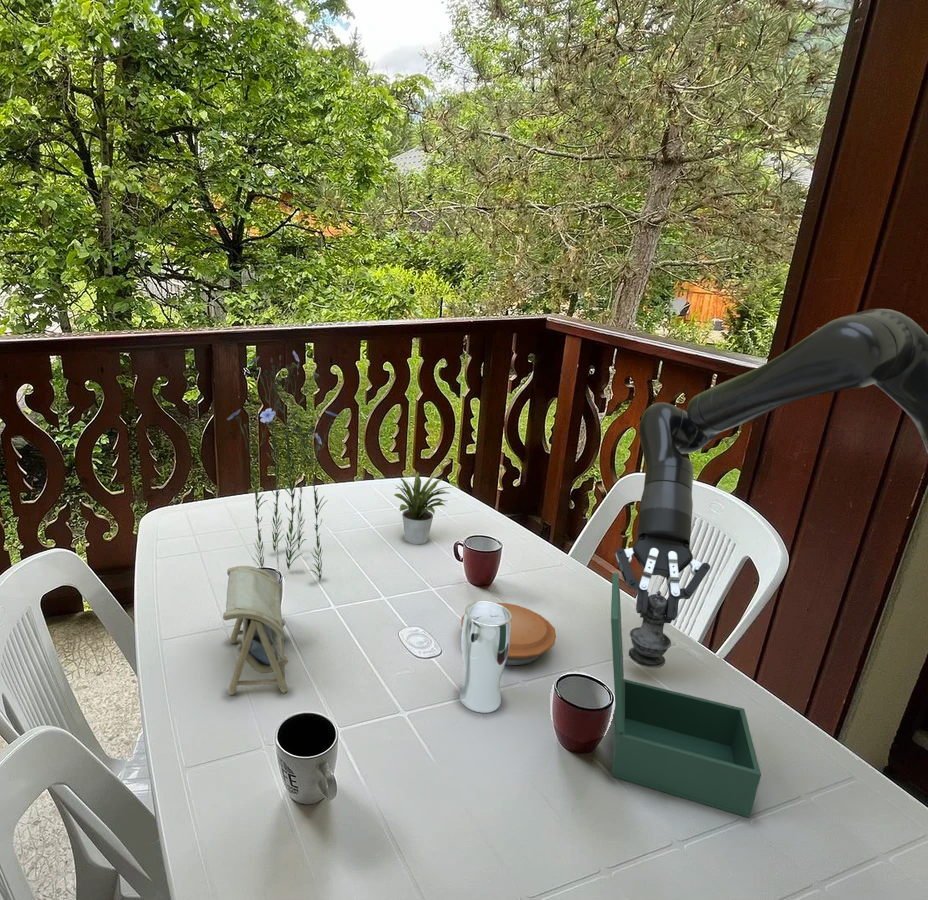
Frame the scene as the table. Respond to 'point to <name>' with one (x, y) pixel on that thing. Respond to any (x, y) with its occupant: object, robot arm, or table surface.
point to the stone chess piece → (651, 635)
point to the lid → (617, 652)
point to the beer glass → (484, 654)
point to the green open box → (686, 748)
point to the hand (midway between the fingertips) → (655, 618)
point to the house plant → (418, 509)
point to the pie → (527, 635)
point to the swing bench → (256, 624)
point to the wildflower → (268, 417)
